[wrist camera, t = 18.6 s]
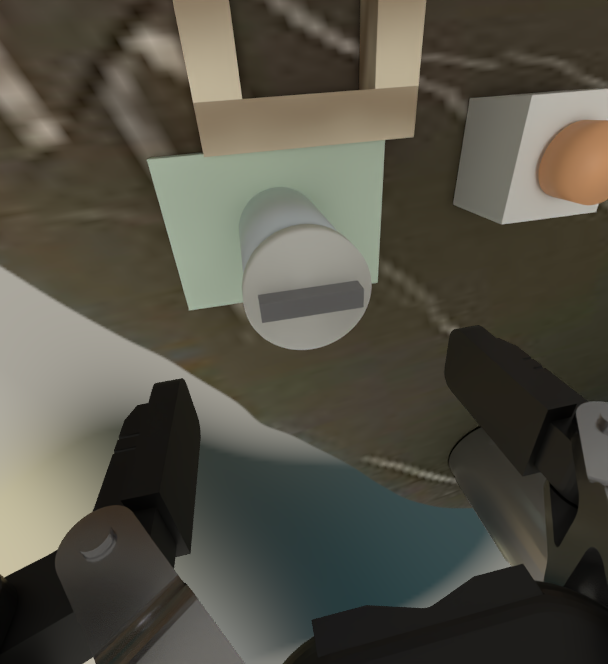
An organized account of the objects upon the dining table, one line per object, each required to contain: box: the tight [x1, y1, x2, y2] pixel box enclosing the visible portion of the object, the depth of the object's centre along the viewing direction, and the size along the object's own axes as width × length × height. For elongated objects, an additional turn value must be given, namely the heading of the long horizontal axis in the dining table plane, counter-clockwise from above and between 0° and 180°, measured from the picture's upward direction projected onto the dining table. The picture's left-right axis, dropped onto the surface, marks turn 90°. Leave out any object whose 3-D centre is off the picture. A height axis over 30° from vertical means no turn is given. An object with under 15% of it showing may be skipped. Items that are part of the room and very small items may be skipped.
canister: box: [239, 187, 372, 350], centre depth 17 cm, size 5×5×10 cm
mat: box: [147, 140, 385, 310], centre depth 22 cm, size 9×13×1 cm
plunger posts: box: [453, 88, 608, 224], centre depth 17 cm, size 19×7×5 cm, turn 4°
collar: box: [173, 0, 426, 157], centre depth 16 cm, size 11×11×2 cm
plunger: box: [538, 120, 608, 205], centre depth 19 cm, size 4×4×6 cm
